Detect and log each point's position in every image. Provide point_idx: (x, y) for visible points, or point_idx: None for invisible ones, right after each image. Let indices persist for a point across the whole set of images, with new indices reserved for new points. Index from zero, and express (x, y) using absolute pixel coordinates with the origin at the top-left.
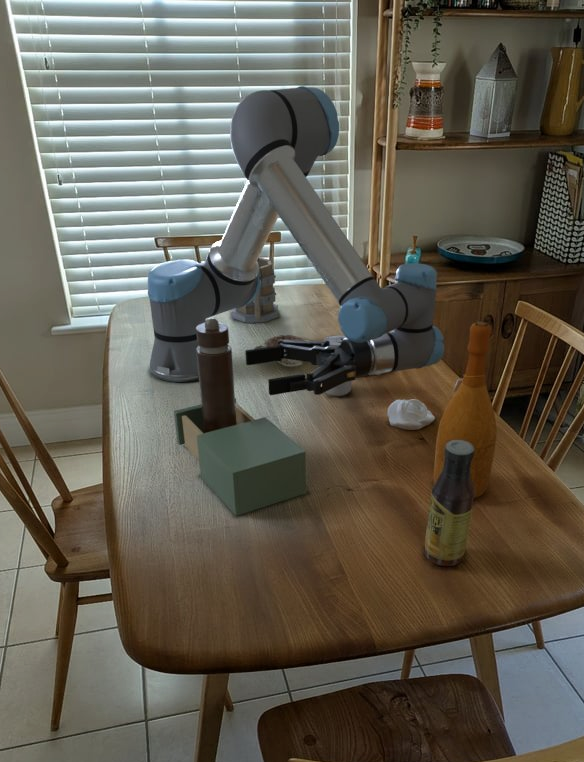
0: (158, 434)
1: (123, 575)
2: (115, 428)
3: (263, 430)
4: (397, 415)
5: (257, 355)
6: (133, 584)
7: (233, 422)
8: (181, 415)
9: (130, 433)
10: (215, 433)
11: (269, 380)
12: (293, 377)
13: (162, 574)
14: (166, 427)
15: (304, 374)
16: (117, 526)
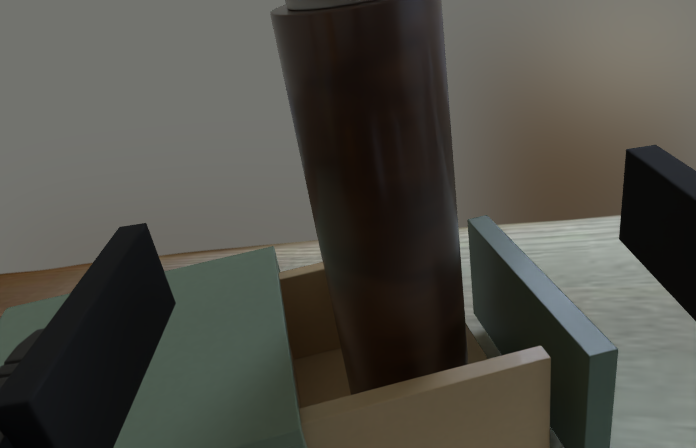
0: (574, 284)
1: (70, 267)
2: (608, 221)
3: (180, 405)
4: None
5: (665, 220)
6: (38, 277)
7: (350, 338)
8: (475, 237)
9: (580, 242)
10: (256, 279)
11: (126, 226)
12: (49, 328)
13: (21, 304)
14: (623, 297)
15: (12, 405)
16: (202, 253)
